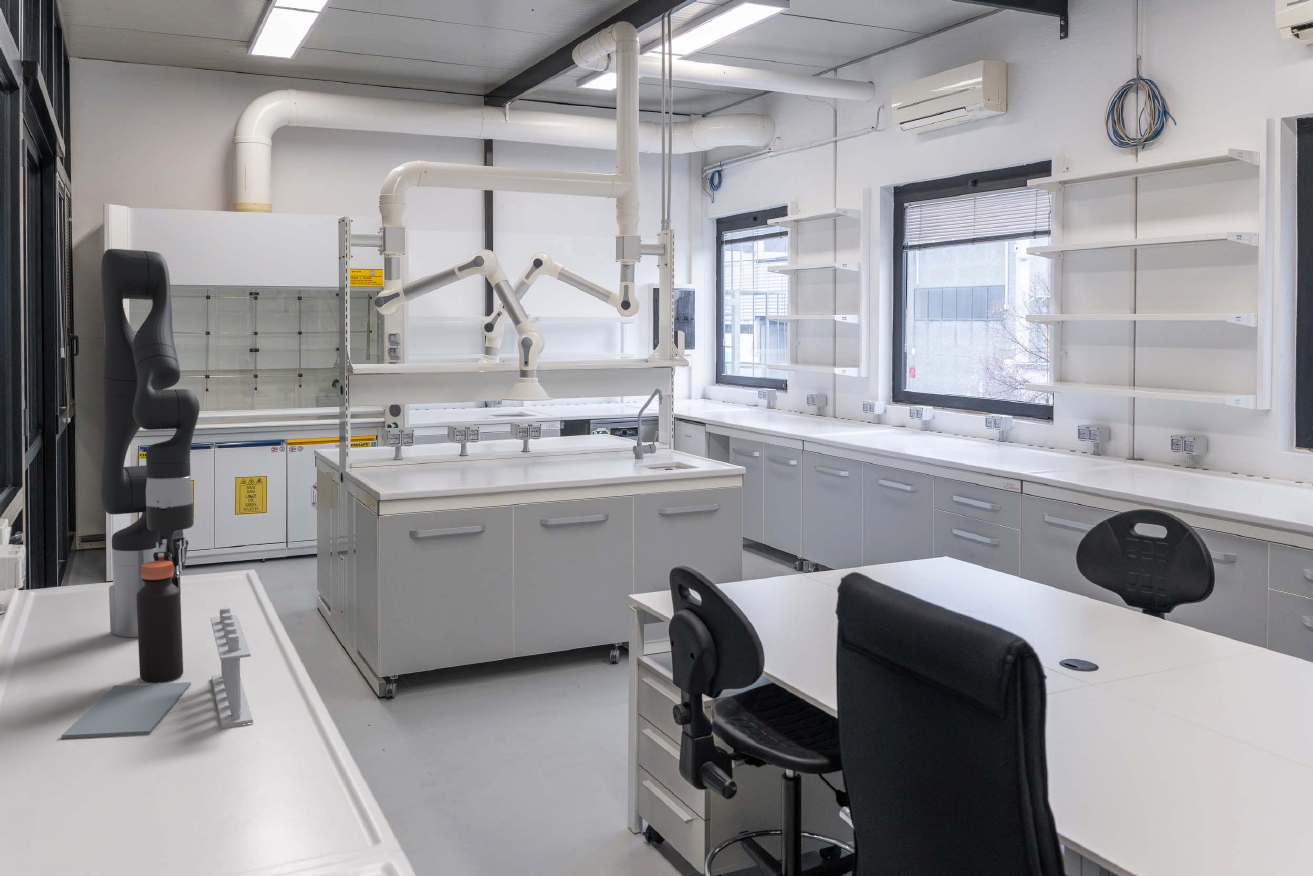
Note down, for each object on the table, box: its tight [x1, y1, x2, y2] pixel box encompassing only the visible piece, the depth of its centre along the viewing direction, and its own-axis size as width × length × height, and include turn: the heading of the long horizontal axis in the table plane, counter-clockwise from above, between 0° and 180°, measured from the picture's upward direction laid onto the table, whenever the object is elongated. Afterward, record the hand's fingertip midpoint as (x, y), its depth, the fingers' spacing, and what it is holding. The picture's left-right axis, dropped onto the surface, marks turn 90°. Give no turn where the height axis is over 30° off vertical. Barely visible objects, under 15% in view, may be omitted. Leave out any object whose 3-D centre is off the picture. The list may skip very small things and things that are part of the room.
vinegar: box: [136, 560, 184, 684], centre depth 174 cm, size 7×7×20 cm
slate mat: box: [61, 681, 192, 740], centre depth 160 cm, size 22×12×1 cm, turn 10°
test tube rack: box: [210, 606, 254, 729], centre depth 164 cm, size 25×4×13 cm, turn 27°
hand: (173, 597), depth 182 cm, fingers closed
